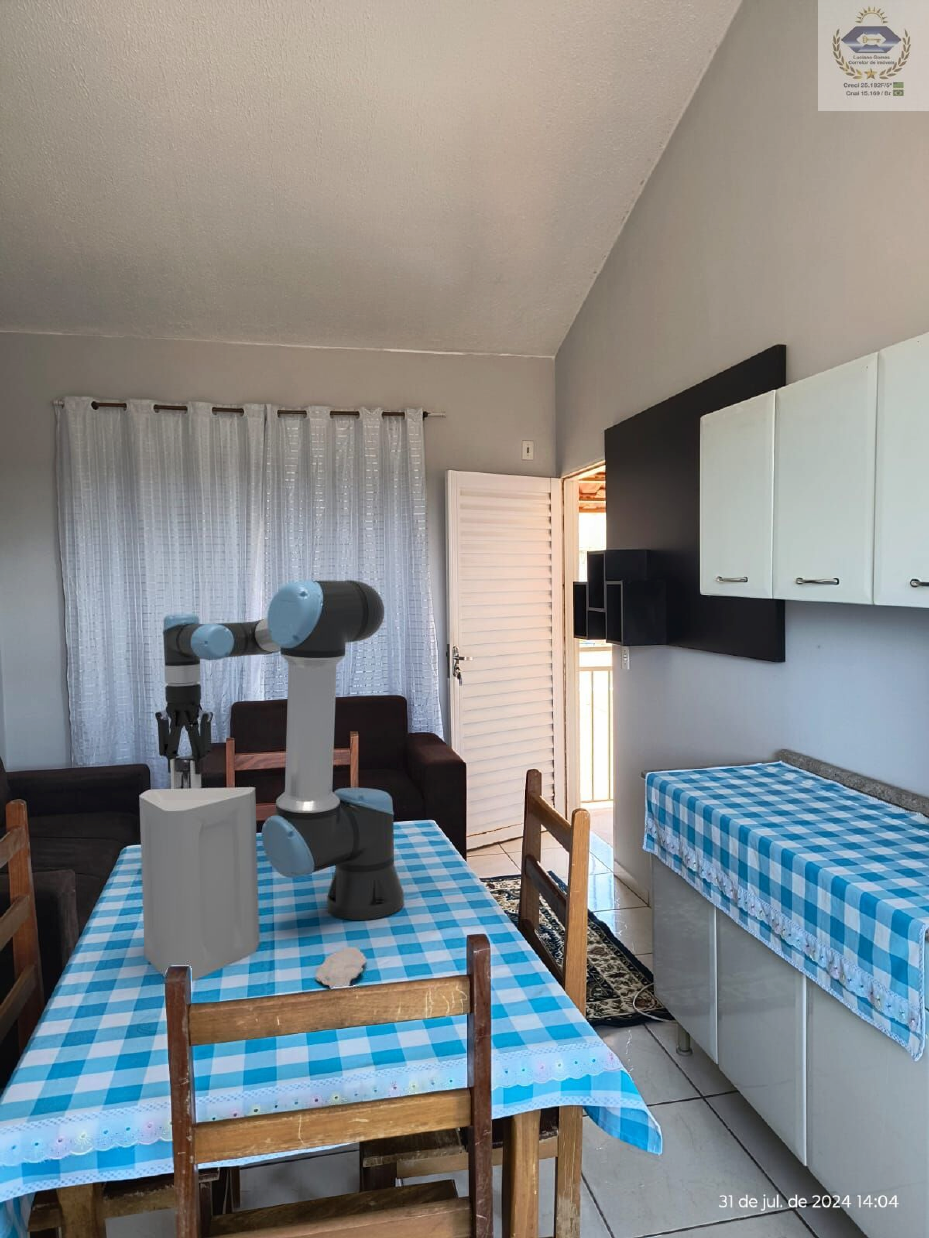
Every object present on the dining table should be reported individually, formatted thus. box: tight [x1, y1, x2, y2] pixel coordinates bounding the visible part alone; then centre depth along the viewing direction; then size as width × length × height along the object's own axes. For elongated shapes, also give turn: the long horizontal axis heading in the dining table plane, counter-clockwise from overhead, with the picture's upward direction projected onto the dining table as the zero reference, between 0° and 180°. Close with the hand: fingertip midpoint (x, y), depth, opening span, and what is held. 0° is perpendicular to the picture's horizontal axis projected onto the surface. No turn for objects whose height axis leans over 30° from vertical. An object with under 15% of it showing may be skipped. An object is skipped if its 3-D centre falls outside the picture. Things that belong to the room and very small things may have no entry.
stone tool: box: [314, 946, 367, 989], centre depth 133 cm, size 8×3×15 cm
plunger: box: [175, 755, 193, 789], centre depth 182 cm, size 9×9×19 cm
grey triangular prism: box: [138, 786, 260, 982], centre depth 138 cm, size 19×15×28 cm
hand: (186, 787), depth 182 cm, fingers closed on plunger, 4 cm apart
